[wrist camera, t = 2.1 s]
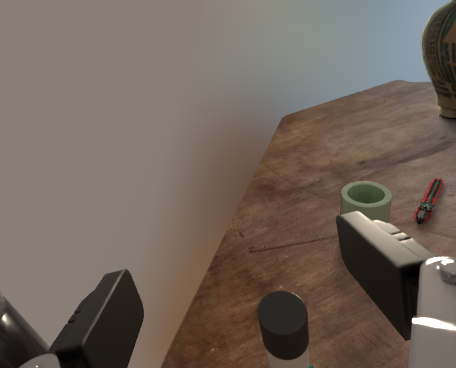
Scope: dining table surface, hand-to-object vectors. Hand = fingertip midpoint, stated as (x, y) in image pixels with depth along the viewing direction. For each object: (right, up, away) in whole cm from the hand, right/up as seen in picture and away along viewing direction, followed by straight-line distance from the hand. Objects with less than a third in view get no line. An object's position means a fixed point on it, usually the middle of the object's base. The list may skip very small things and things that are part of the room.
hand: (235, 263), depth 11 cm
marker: (+6, -18, +16) cm, 24 cm away
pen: (+33, 0, +36) cm, 48 cm away
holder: (+19, -5, +31) cm, 37 cm away
